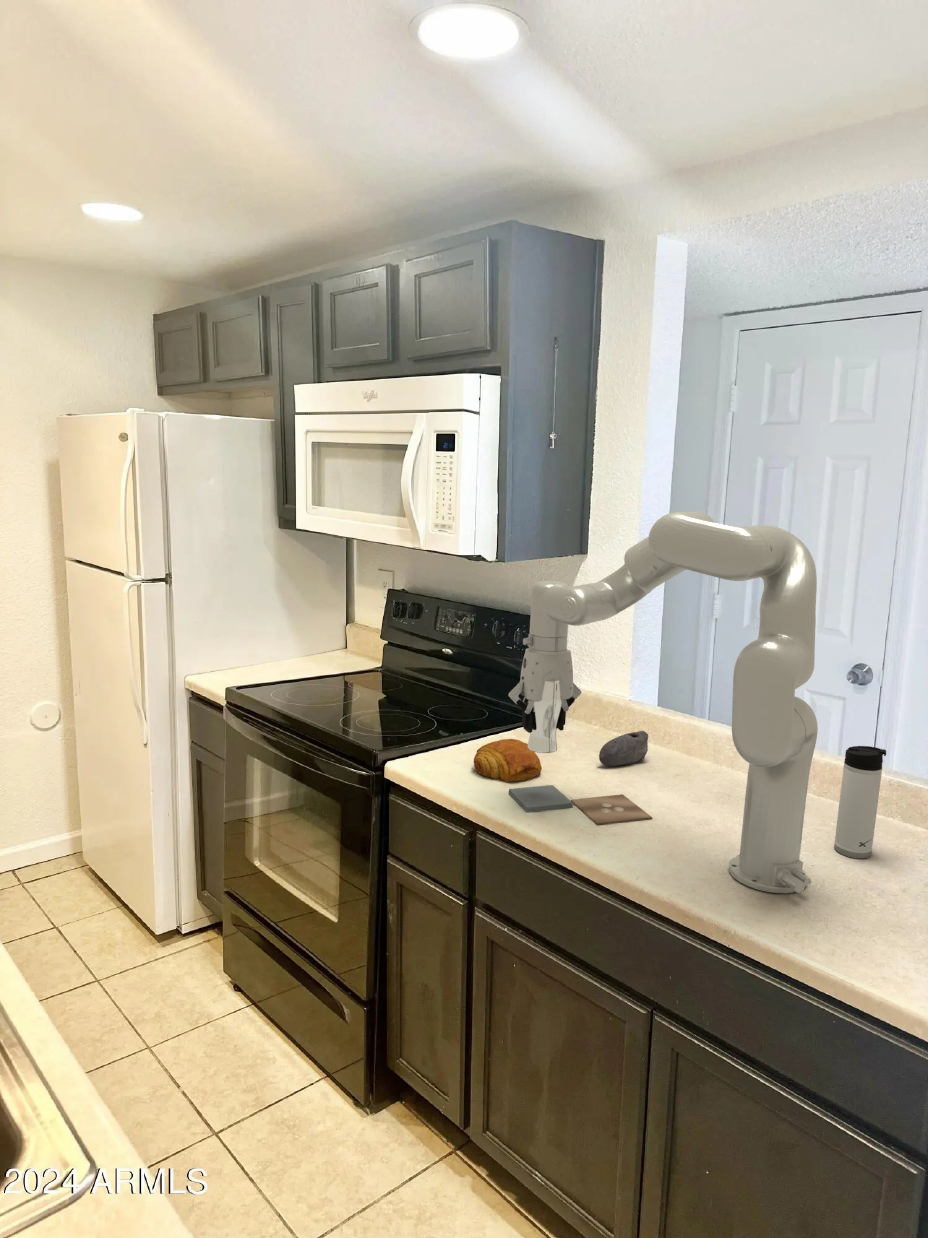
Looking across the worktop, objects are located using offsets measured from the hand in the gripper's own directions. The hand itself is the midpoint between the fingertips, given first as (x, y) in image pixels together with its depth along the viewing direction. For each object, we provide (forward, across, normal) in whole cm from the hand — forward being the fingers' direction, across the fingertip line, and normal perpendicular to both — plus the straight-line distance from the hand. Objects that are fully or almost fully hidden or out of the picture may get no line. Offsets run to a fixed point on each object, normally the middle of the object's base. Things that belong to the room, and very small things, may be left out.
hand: (543, 728), depth 170 cm
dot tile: (+15, +12, -8) cm, 21 cm away
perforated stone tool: (+16, +28, +16) cm, 36 cm away
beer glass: (+4, 0, 0) cm, 4 cm away
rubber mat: (+15, 0, 0) cm, 15 cm away
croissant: (+16, 0, +17) cm, 23 cm away
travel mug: (+15, +47, -36) cm, 61 cm away
